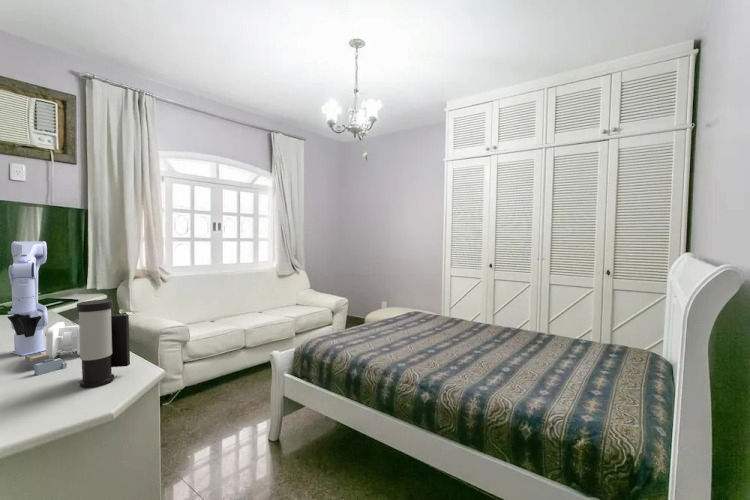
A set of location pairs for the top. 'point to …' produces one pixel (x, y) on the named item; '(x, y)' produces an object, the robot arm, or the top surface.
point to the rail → (64, 365)
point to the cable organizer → (62, 339)
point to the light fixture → (101, 342)
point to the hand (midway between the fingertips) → (25, 335)
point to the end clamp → (48, 366)
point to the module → (35, 360)
